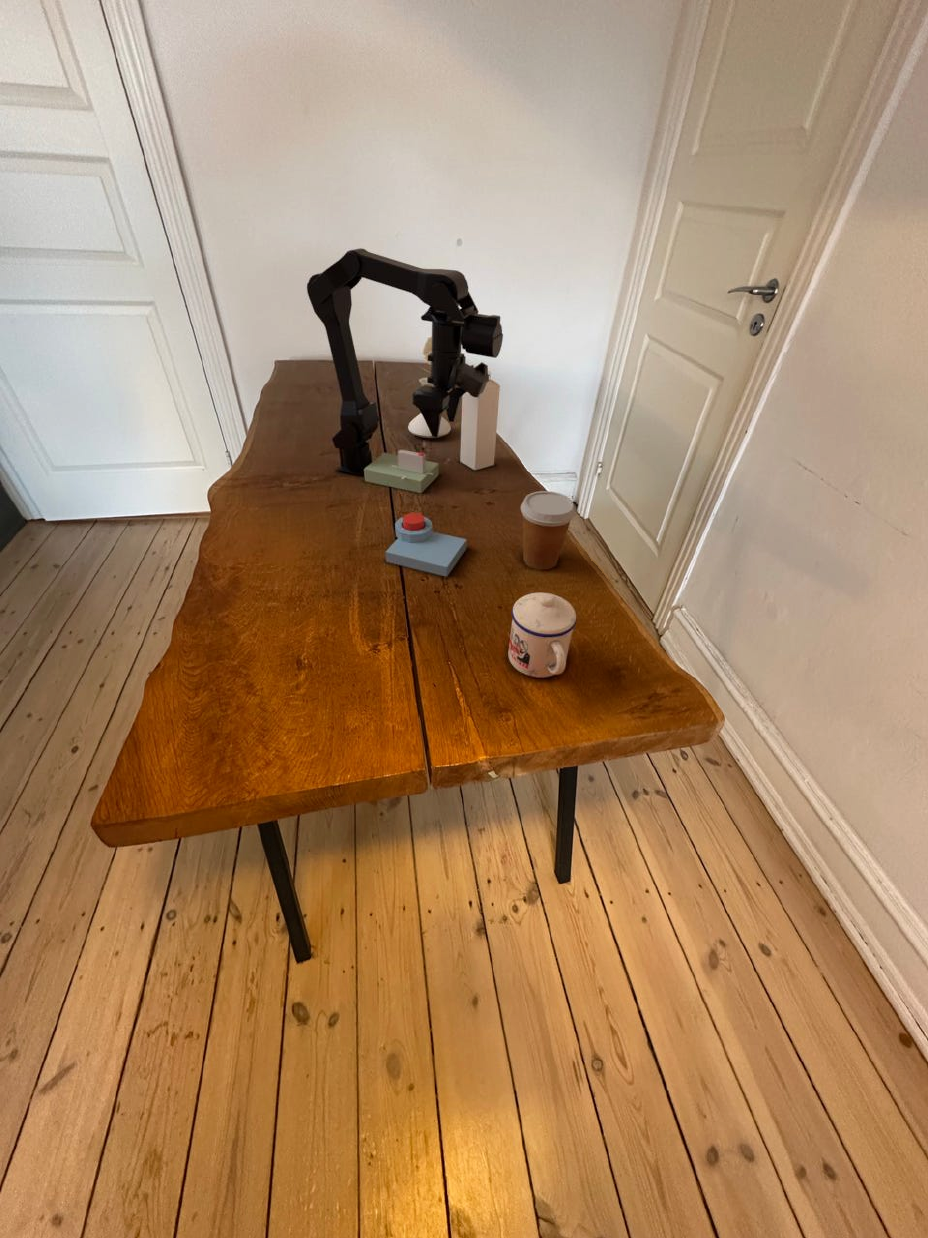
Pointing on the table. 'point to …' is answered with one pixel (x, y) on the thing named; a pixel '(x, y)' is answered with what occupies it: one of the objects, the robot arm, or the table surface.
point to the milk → (479, 426)
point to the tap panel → (399, 474)
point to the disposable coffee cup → (545, 527)
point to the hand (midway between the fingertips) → (443, 428)
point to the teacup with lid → (541, 634)
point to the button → (413, 522)
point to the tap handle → (411, 461)
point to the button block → (425, 549)
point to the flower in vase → (419, 423)
